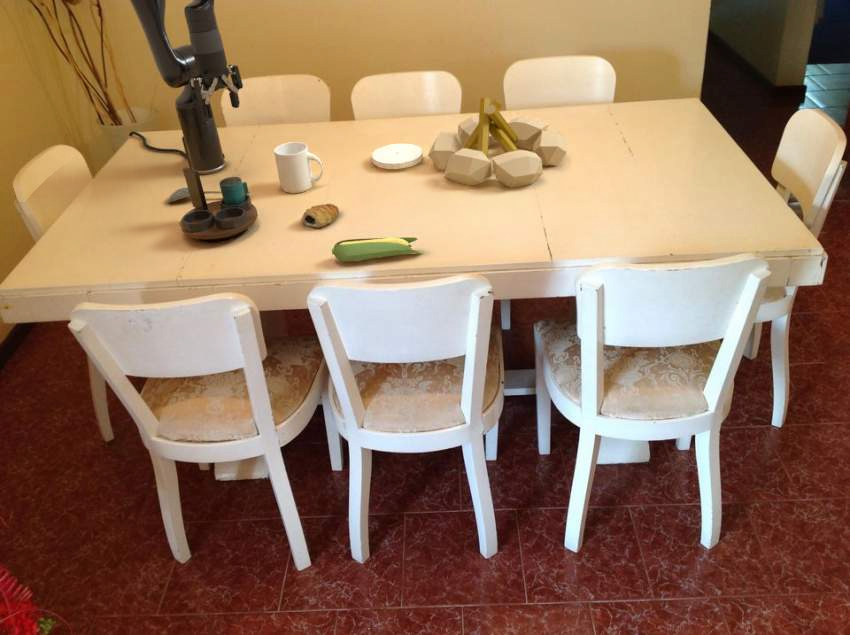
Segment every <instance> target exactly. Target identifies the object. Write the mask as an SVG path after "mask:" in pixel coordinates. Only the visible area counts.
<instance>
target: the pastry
mask: <svg viewBox="0 0 850 635" xmlns="http://www.w3.org/2000/svg"><path fill="white" fill-rule="evenodd" d="M339 215H340V211H339V207H338V205H335V204H333V203H325V204H318V205H312V206H311V207H310V208H307V209H306V210H305V212H304V213H302V216H301V218H300V219H301V220H300V221H301V223H302V224H304V226H306V227H313V228H317V229H318V228H324V227H326V226H327V225H328V224H332V223H333V221H335V220H336V219H337V218H338V216H339Z"/></svg>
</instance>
